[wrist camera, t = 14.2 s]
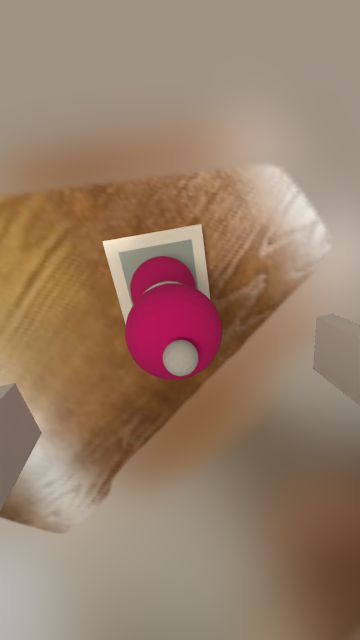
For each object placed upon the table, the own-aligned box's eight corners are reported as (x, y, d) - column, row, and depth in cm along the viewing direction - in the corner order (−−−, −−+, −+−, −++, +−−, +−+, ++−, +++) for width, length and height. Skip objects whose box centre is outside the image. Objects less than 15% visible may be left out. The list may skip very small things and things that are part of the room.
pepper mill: (133, 250, 27) (97, 285, 9) (191, 255, 28) (273, 294, 10) (132, 308, 30) (104, 430, 11) (186, 310, 31) (243, 425, 12)
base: (129, 324, 34) (127, 333, 31) (106, 240, 29) (102, 241, 26) (207, 308, 34) (212, 315, 31) (196, 225, 30) (201, 223, 27)
